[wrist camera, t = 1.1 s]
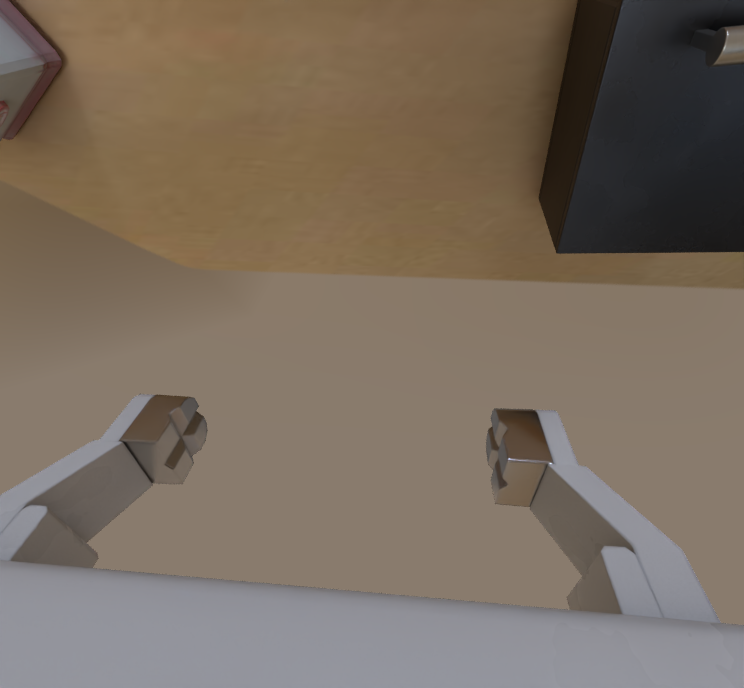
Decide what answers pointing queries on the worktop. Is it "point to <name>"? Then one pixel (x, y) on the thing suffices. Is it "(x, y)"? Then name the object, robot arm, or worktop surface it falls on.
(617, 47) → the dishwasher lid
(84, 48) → the worktop surface
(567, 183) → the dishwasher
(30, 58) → the bottle
